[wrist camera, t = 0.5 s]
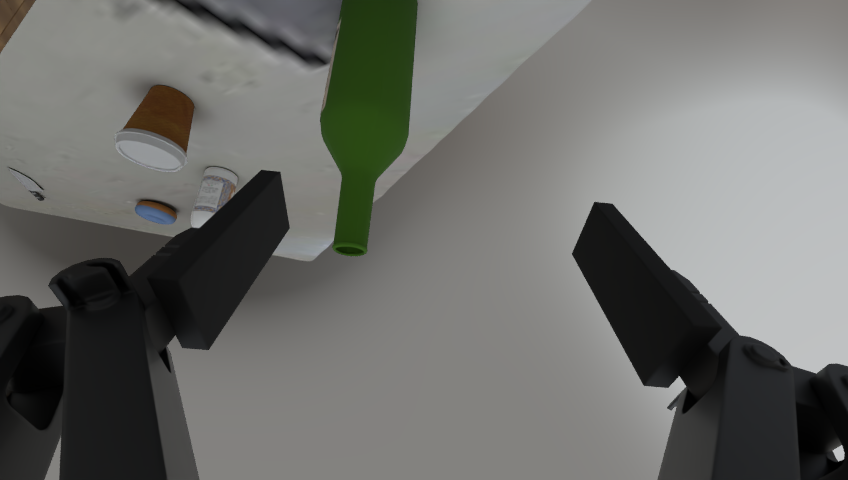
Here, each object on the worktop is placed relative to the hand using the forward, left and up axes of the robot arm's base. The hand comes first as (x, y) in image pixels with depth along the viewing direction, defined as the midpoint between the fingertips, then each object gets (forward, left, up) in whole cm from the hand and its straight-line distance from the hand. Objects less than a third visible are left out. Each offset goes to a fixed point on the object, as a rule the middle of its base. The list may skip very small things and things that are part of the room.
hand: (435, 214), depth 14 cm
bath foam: (+22, -73, -36) cm, 84 cm away
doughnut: (+23, -109, -36) cm, 117 cm away
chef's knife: (0, -126, -36) cm, 131 cm away
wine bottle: (+9, -14, -36) cm, 40 cm away
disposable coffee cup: (+4, -56, -36) cm, 67 cm away
